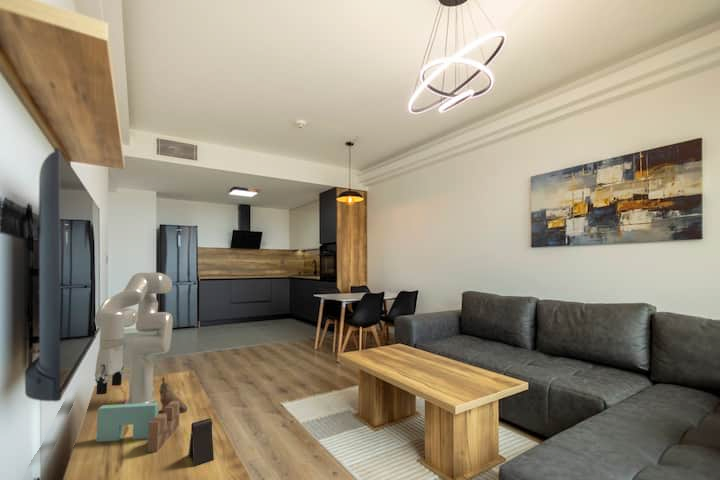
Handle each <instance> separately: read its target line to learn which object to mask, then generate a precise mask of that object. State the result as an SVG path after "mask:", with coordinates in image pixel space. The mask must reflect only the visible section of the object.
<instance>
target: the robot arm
mask: <svg viewBox="0 0 720 480" xmlns="http://www.w3.org/2000/svg"><path fill="white" fill-rule="evenodd" d="M172 288H173V280H172V279H171V278H170V276H168V275H167V274H165V273H162V272H138V273H136V274H134V275H132V276H131V278H130V279H129V281H128V283H127V284H126V286H125V288H124V289H123V291H120V292H118V293H117V294H115V295H113V296H111V297H109V298H107V299H106V300H105V301H104V302H103V303H102V304H101V305H100V307H99V308H98V310H97V312H96V314H95V317H94V323H95V326H96V327H97V328H100V330H99V347H98V352H97V353H98V354H97V356H96V357H97V358H96V365H95V373H94V377H95V383H96V395H98V396H99V395H106V394H107V393H108V382H107V380H108V378H109V377H110V376H112V377H111V386H112V387H113V386H115V387H117V386H121V385H122V378H123V369H124V365H125V361H124V348H123V347H124V341H125V328H130V327H132V326H134V325H135V329H136V331H137V332H139V333H157V332H159V333H157V334H140V335H136V336H134V337H131V339H130V340H129V341H128V354H129V385H128V386H129V388H128V399H126V400H125V401H124V404H138V403H155V402H156V399H157V396H156V395H153V392H154V391H155V387H154V386H153V385H154V384H153V381H154V361H153V359H152V358H151V357H150V356H153V355H164V354H166V353H168V352H169V351H170V348H171V345H172V343H171V342H172V334H173V333H172V332H173V324H174V323H173V322H174V321H173V320H174V319H173V315H172V313H170V312H167V311H159V312H158V310H159V302H158V299H156V297H155V296H154V294H156V295H157V294H168V293H169V292H170V291H171V290H172ZM135 305H138V309H137V310H136V309H134V308H130V307H133V306H135Z"/></svg>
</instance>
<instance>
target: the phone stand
mask: <svg viewBox="0 0 720 480" xmlns="http://www.w3.org/2000/svg"><path fill="white" fill-rule="evenodd" d="M212 420H213V419H211V418H205V419H203V420H198V421H196V422H192V423H191V427H190V429H191V430H190V431H191V433H190V436H189V437H190V439H189V446H188V452H187V453H188V454H187V455H188V457H189V458H190V461H191V462H192V464H193V466H194V467H196V466H199V465H202V464H205V463H208V462H211V461H213V460H215V458H214V442H213V421H212Z"/></svg>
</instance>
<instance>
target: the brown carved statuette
mask: <svg viewBox="0 0 720 480" xmlns="http://www.w3.org/2000/svg"><path fill="white" fill-rule="evenodd" d="M161 381H162V383H161V385H160V386H159V387H160V388H159V394H160V398H159V399H160V404H161V406H162V409H161V410H158V414H162V413H164V408H165V407H166V406H167V405H168V404H169V403H170V402H171V401H175V400H180V407H179V413H180V414H183V413H184V414H185V413H187V412H188V406H187V405H186V404H185V403H184V402H183V401H182V400H181V399H180V397H178V395H176V394H175V392H174V391H173V389H172V388H171V386H170V384H168V383H167V382H166V379H165V377H164V376H163V377H162V379H161Z"/></svg>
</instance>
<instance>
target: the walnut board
mask: <svg viewBox="0 0 720 480" xmlns="http://www.w3.org/2000/svg"><path fill="white" fill-rule="evenodd" d="M180 400H181V399H180ZM180 400H175V401H171V402H170V403H169V404H168V405H167V406H166V407H165V408H164V413H162V414H158V415H157V416H156V417H155V418H154V419H152V420H151V421H150V422H149V437H148V438H147V441H148V442H147V447H148V448H147V453H157V452H159V450H160V449H161V448H162V446H163V445H164V444H165V443H166V442H167V440H168V439H169V438H170V437H171V436H172V434H173V433H174V432H175V431H176V430H177V428H178V427H179V426H180V414H179V407H180ZM169 436H170V437H169ZM165 441H166V442H165Z"/></svg>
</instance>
